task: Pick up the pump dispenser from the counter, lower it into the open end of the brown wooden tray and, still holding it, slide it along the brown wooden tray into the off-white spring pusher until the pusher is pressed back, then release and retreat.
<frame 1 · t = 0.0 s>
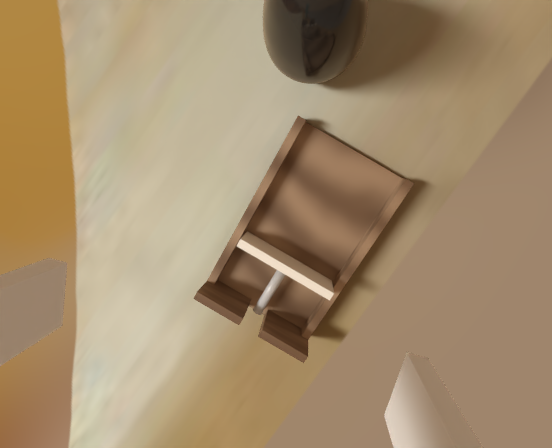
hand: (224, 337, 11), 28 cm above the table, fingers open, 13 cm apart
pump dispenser: (313, 44, 35), on the table
pusher: (272, 287, 37), point 3 cm above the table, slide at 0.0 cm
brown wooden tray: (301, 234, 39), on the table
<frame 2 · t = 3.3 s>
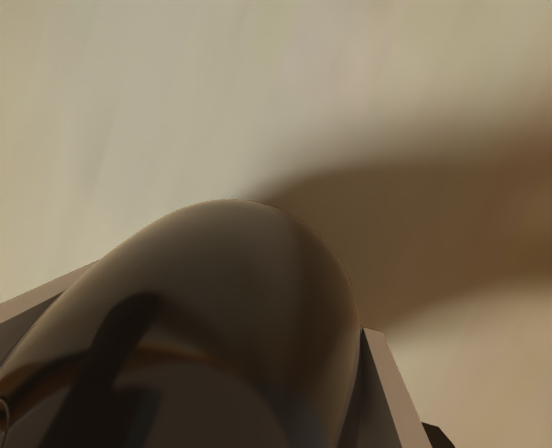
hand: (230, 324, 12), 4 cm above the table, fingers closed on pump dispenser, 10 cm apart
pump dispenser: (250, 281, 17), on the table, touching gripper
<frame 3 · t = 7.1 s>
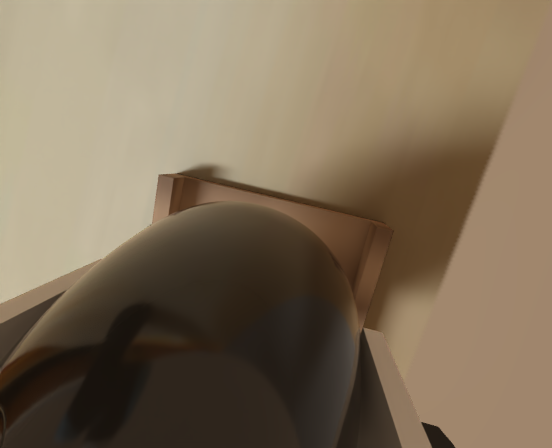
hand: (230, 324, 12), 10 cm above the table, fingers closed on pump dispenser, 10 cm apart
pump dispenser: (249, 282, 17), point 6 cm above the table, touching gripper
brown wooden tray: (244, 345, 24), on the table
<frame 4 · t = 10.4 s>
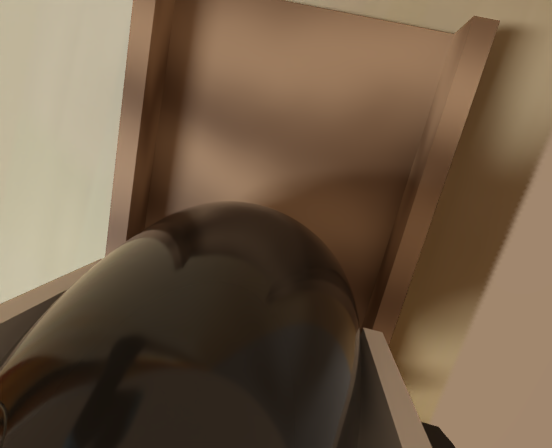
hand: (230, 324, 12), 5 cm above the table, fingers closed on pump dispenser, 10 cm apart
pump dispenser: (249, 283, 17), point 1 cm above the table, touching gripper, pusher
brown wooden tray: (260, 245, 17), on the table
when the fingers open (5 cm above the table, at t = 10.9 s): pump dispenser stays where it is, resting on brown wooden tray, pusher.
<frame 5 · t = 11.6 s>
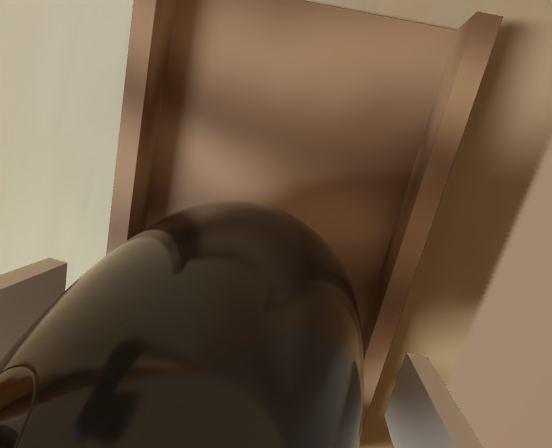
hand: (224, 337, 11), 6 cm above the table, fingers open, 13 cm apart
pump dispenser: (250, 285, 17), point 1 cm above the table, touching brown wooden tray, pusher
brown wooden tray: (261, 244, 17), on the table
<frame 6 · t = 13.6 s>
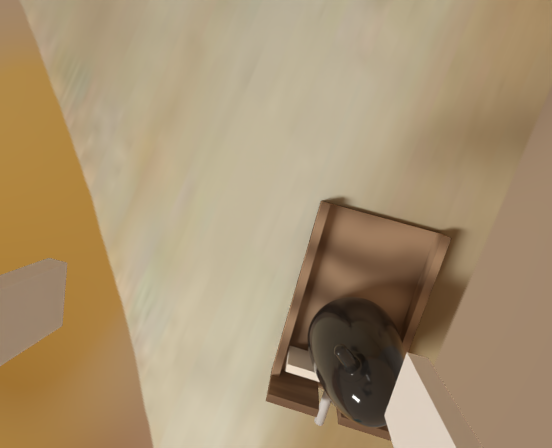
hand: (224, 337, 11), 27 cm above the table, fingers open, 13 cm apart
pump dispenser: (346, 324, 39), point 1 cm above the table, touching brown wooden tray, pusher
pusher: (328, 396, 38), point 3 cm above the table, slide at 4.2 cm, touching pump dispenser
brown wooden tray: (351, 305, 39), on the table
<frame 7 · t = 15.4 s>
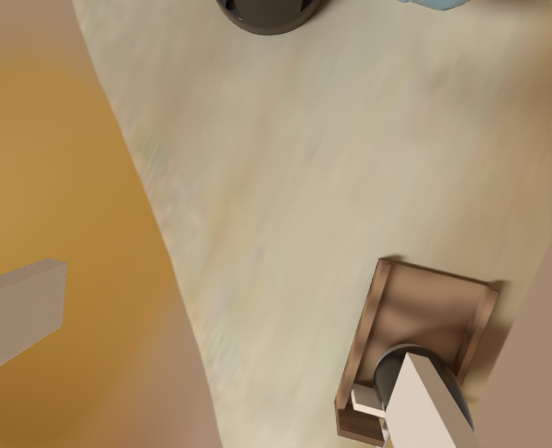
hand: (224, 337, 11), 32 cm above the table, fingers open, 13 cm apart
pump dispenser: (402, 363, 44), point 1 cm above the table, touching brown wooden tray, pusher
pusher: (388, 427, 43), point 3 cm above the table, slide at 4.2 cm, touching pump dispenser
brown wooden tray: (406, 347, 44), on the table
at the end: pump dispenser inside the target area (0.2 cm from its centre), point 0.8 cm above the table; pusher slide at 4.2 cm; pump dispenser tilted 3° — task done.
